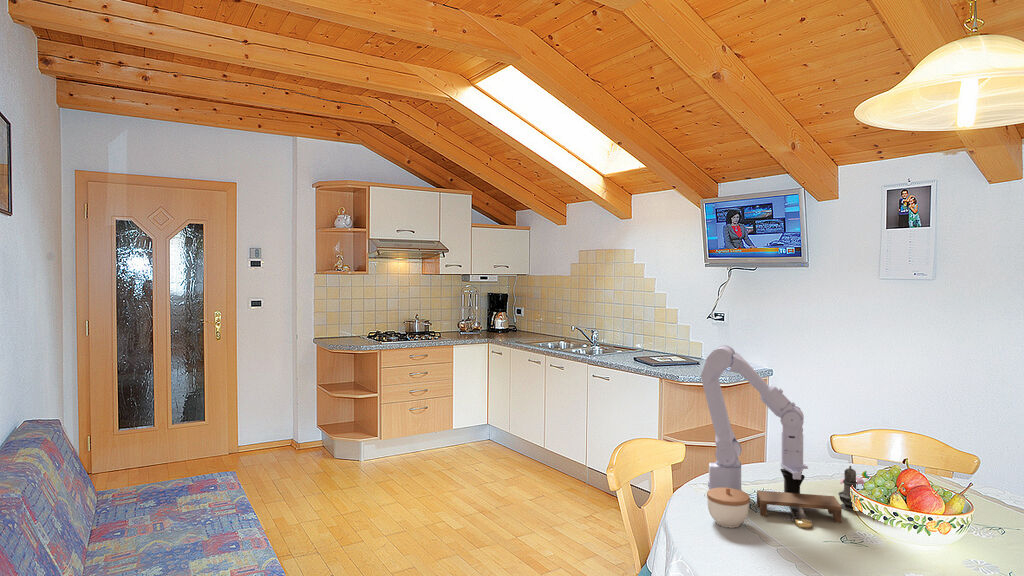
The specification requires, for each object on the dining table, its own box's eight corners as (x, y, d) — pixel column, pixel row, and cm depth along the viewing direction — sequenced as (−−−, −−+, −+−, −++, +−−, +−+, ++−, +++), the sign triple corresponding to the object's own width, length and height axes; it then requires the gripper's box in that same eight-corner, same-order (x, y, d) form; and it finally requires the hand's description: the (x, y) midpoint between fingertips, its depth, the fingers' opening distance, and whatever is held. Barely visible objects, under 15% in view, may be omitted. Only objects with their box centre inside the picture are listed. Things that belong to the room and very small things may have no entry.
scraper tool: (791, 521, 164) (791, 495, 164) (782, 501, 179) (782, 477, 179) (812, 523, 163) (812, 497, 163) (800, 502, 178) (800, 478, 178)
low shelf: (760, 516, 168) (760, 500, 168) (756, 505, 176) (756, 490, 176) (841, 523, 163) (841, 506, 163) (833, 511, 171) (834, 496, 171)
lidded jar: (753, 533, 158) (753, 496, 157) (709, 529, 160) (709, 493, 160) (745, 516, 168) (746, 482, 168) (704, 513, 170) (704, 480, 170)
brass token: (797, 528, 160) (797, 524, 160) (793, 522, 164) (793, 518, 164) (813, 529, 160) (813, 525, 159) (810, 523, 163) (810, 519, 163)
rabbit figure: (868, 487, 193) (832, 486, 188) (870, 468, 194) (835, 466, 188) (886, 494, 188) (850, 493, 182) (888, 474, 188) (853, 472, 182)
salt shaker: (866, 512, 171) (866, 468, 170) (844, 512, 171) (845, 469, 170) (854, 503, 177) (855, 462, 176) (834, 503, 177) (834, 462, 176)
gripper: (813, 457, 169) (812, 506, 170) (802, 443, 183) (802, 488, 184) (785, 456, 171) (785, 504, 171) (776, 442, 185) (776, 486, 185)
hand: (792, 496), depth 178 cm, fingers closed on scraper tool
